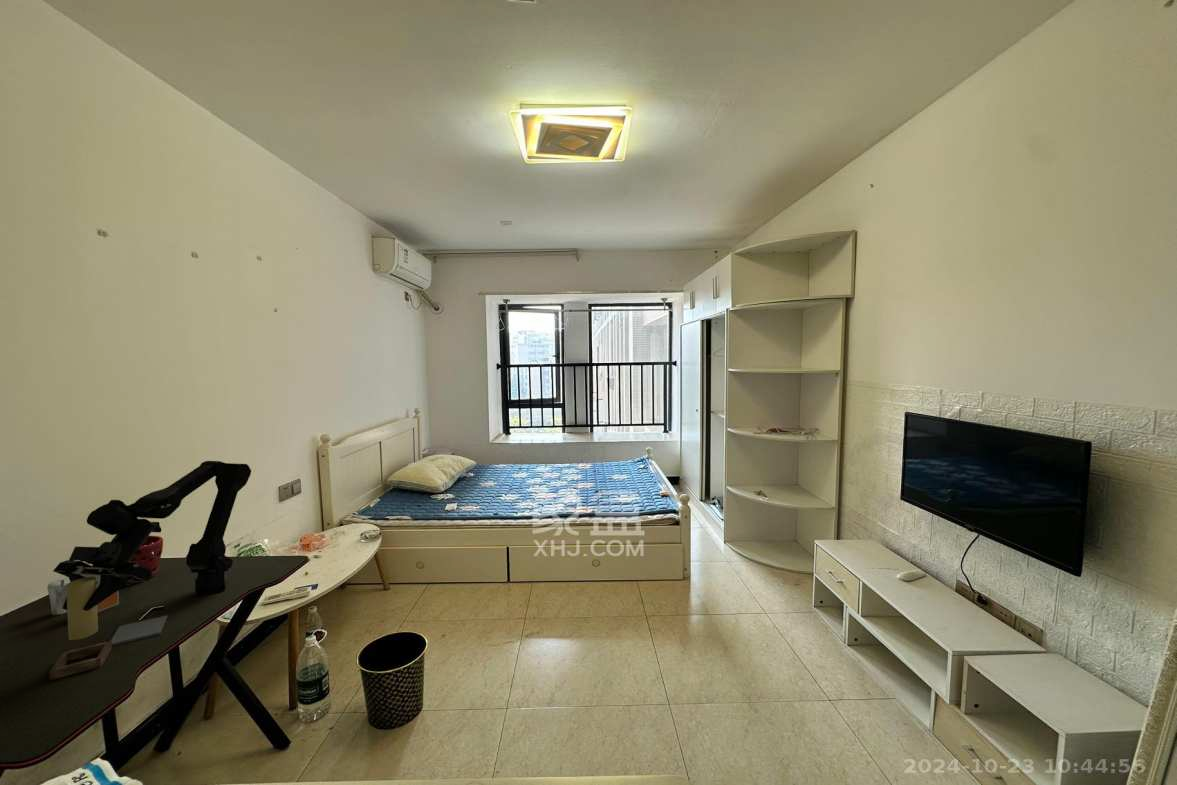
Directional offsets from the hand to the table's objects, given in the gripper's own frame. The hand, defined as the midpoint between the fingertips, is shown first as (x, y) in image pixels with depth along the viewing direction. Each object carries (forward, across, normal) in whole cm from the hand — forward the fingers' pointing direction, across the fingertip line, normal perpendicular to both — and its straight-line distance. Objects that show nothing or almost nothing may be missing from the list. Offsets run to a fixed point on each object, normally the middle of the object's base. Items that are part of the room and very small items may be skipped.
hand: (75, 609), depth 97 cm
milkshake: (-4, -29, +24) cm, 38 cm away
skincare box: (-6, -21, +25) cm, 33 cm away
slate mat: (0, 0, +19) cm, 19 cm away
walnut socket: (+9, 0, +10) cm, 13 cm away
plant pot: (-18, -30, +37) cm, 51 cm away
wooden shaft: (+4, 0, +6) cm, 7 cm away
